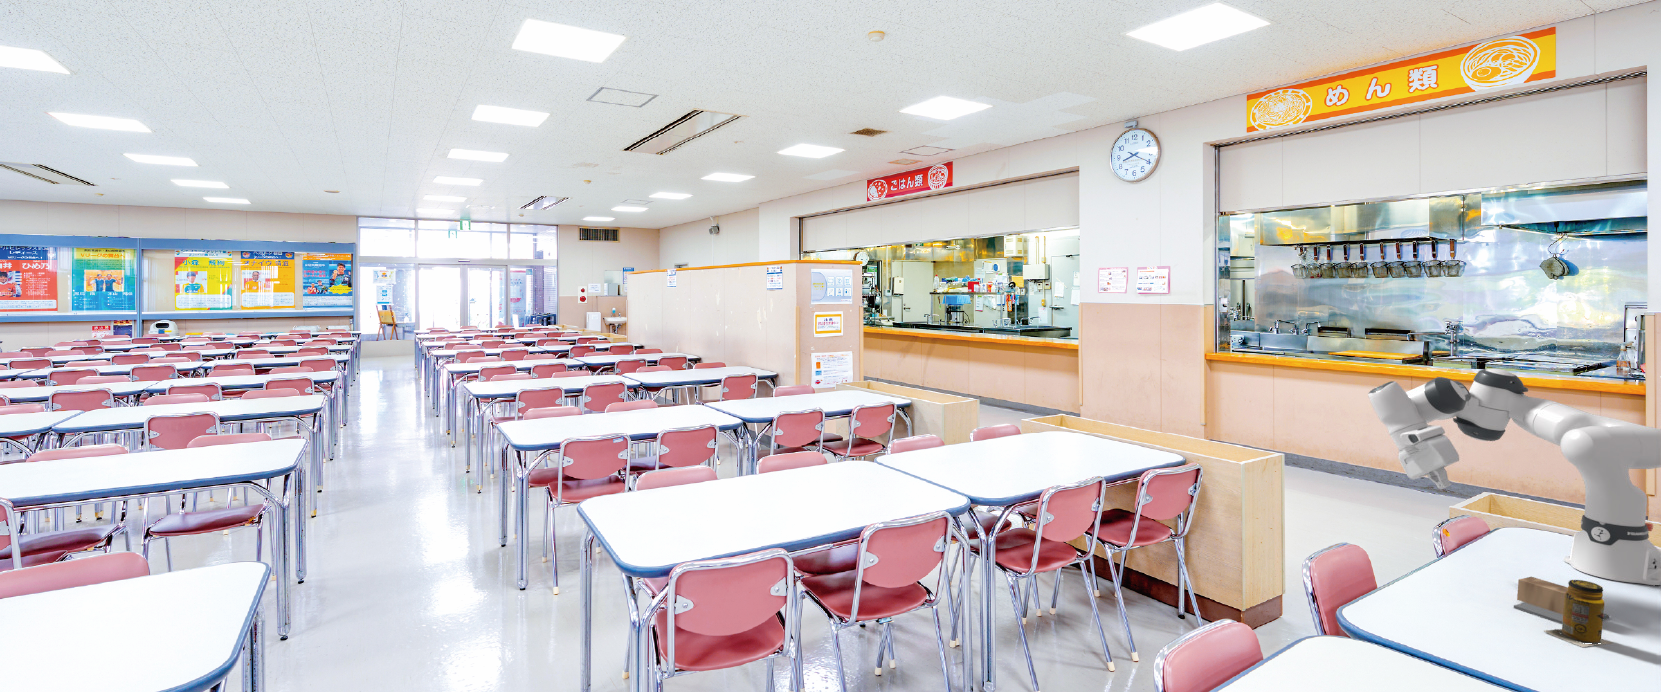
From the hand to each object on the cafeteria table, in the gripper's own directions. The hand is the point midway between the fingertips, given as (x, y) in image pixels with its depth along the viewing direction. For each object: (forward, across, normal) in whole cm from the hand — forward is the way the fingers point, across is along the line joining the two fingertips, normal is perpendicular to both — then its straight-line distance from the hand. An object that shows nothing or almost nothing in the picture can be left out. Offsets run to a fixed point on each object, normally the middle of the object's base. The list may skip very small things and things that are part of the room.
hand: (1445, 487), depth 196 cm
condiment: (+37, +21, -5) cm, 43 cm away
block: (+27, +5, 0) cm, 27 cm away
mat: (+33, +8, +2) cm, 34 cm away
